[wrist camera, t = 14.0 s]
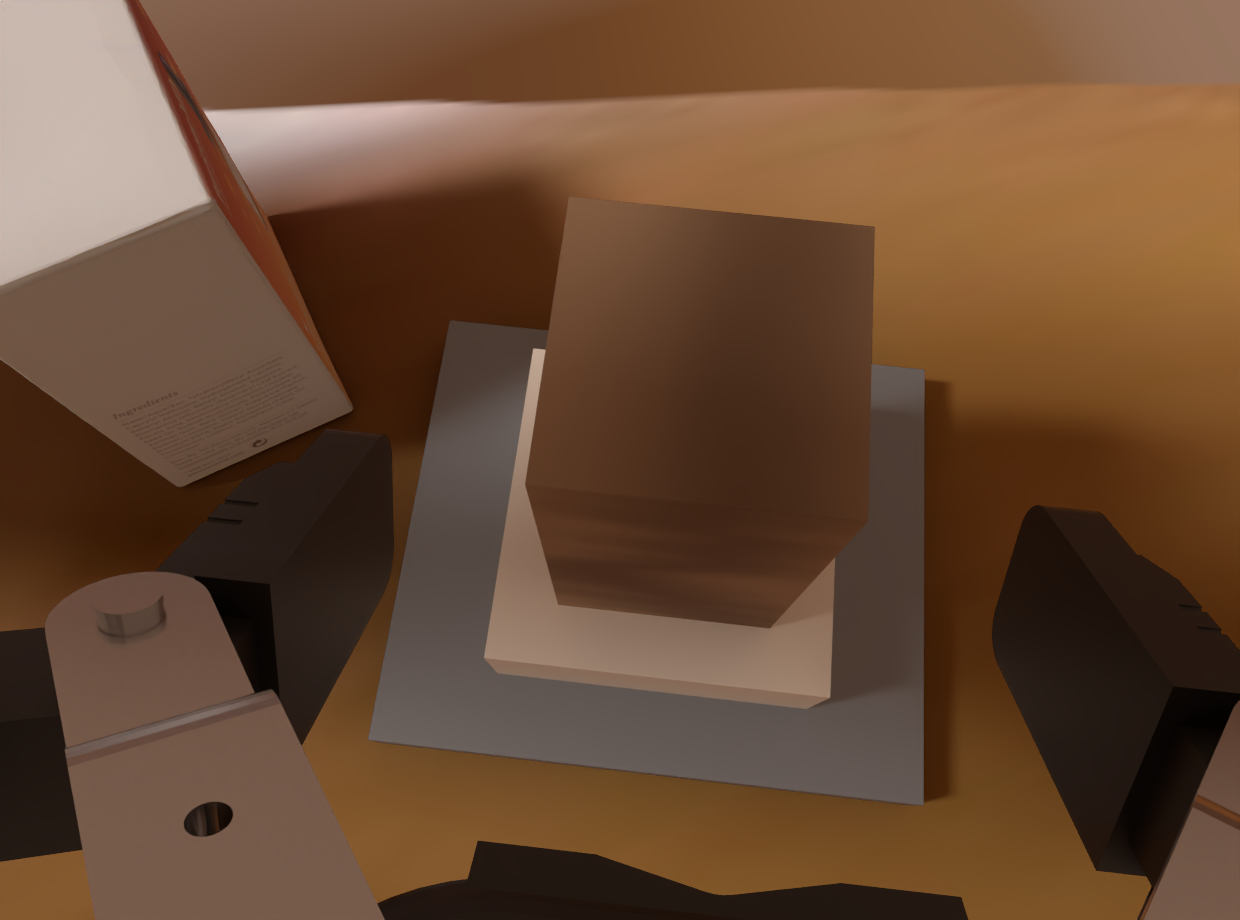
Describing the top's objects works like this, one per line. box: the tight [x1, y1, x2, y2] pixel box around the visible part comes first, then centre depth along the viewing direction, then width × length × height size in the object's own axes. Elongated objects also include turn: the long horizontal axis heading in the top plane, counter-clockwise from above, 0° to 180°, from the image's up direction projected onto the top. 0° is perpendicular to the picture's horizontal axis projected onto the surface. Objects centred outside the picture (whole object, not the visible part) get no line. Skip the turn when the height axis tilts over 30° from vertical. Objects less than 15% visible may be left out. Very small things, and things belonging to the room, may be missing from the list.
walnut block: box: [525, 197, 875, 628], centre depth 19 cm, size 5×5×9 cm
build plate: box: [368, 320, 925, 805], centre depth 25 cm, size 14×12×4 cm
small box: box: [0, 0, 353, 487], centre depth 24 cm, size 8×6×10 cm
